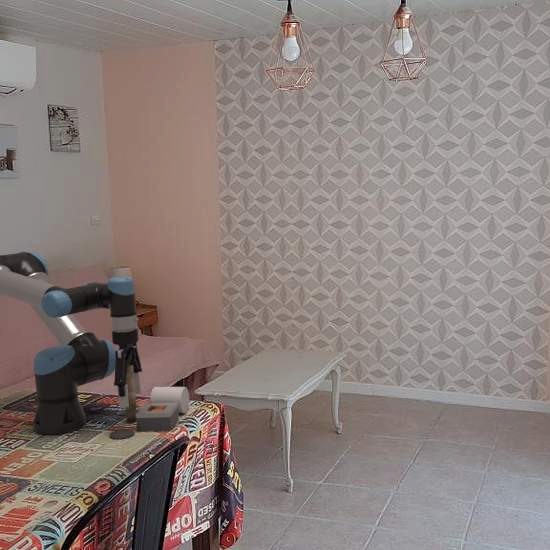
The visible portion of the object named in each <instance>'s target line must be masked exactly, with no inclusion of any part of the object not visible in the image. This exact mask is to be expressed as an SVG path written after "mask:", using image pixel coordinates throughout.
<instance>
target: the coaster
mask: <svg viewBox="0 0 550 550" xmlns="http://www.w3.org/2000/svg"><path fill="white" fill-rule="evenodd" d="M134 436H135V431H134V430H133V429H127V428H126V429H118V430H114V431H112V432H110V433H109V439H111V440H115V439H116V440H119V439H120V440H127V439H130V438H132V437H134ZM126 438H127V439H126ZM120 440H119V441H120Z"/></svg>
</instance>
